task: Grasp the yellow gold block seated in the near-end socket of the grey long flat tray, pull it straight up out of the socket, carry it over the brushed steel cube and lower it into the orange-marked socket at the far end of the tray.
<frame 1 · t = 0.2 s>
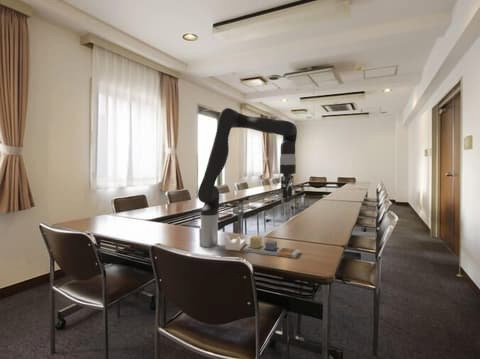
hand: (287, 197, 133), 28 cm above the table, fingers open, 8 cm apart
bracket: (236, 249, 146), on the table
grey long flat tray: (271, 253, 136), on the table
brushed steel cube: (271, 251, 136), point 1 cm above the table, touching grey long flat tray
yellow gold block: (256, 250, 139), point 1 cm above the table, touching grey long flat tray
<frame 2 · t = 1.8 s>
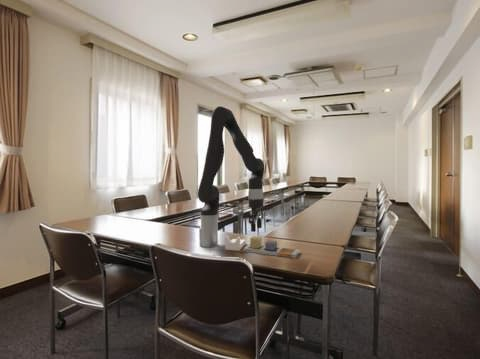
hand: (256, 229, 139), 11 cm above the table, fingers open, 8 cm apart
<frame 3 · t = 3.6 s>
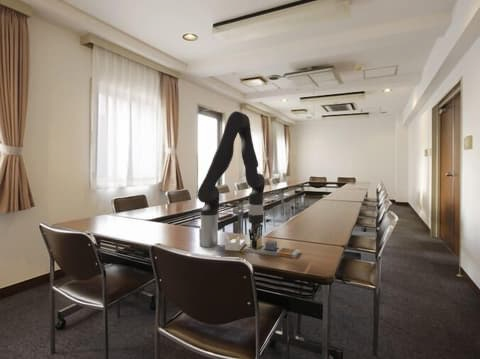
hand: (256, 246, 139), 3 cm above the table, fingers closed on yellow gold block, 4 cm apart
yellow gold block: (256, 250, 139), point 1 cm above the table, touching gripper, grey long flat tray
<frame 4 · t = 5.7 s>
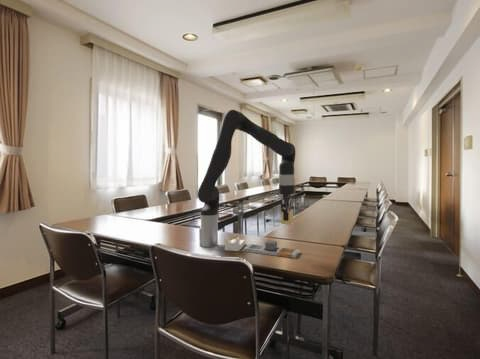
hand: (287, 219, 132), 18 cm above the table, fingers closed on yellow gold block, 4 cm apart
yellow gold block: (287, 223, 132), point 16 cm above the table, touching gripper
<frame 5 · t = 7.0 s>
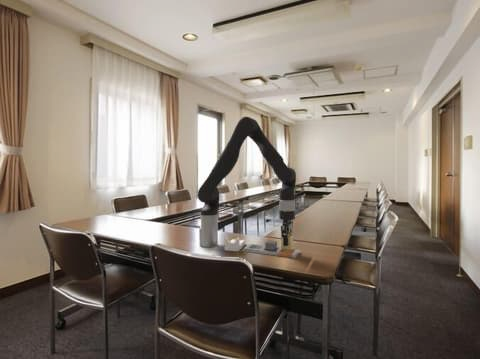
hand: (287, 244, 132), 6 cm above the table, fingers closed on yellow gold block, 4 cm apart
yellow gold block: (287, 247, 132), point 4 cm above the table, touching gripper
when the fingers open (4 cm above the table, at t = 8.1 s): yellow gold block stays where it is, resting on grey long flat tray.
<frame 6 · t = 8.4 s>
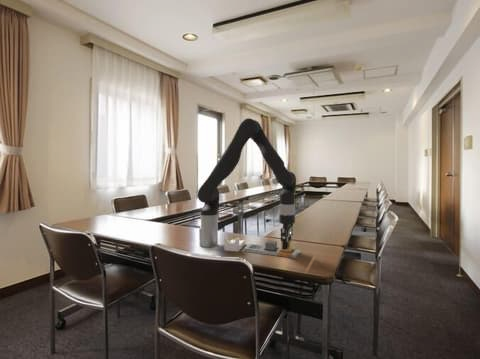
hand: (287, 247, 132), 4 cm above the table, fingers open, 7 cm apart
yellow gold block: (287, 253, 133), point 1 cm above the table, touching grey long flat tray
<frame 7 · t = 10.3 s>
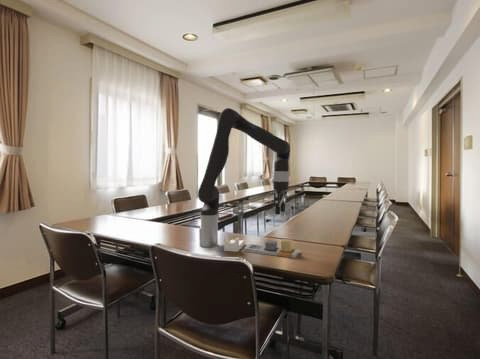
hand: (280, 213, 137), 20 cm above the table, fingers open, 8 cm apart
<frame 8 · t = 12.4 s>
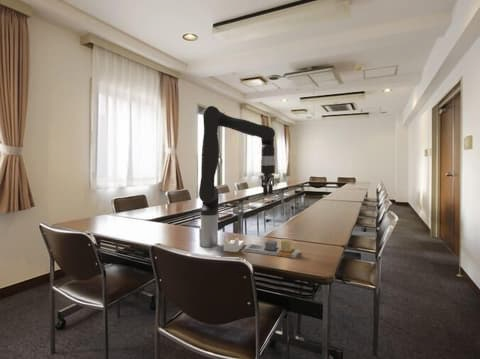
hand: (268, 194, 149), 28 cm above the table, fingers open, 8 cm apart
at the end: yellow gold block 0.0 cm from the target spot on the grey long flat tray, point 1.1 cm above the grey long flat tray's base; yellow gold block tilted 0°; the gripper is holding nothing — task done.
